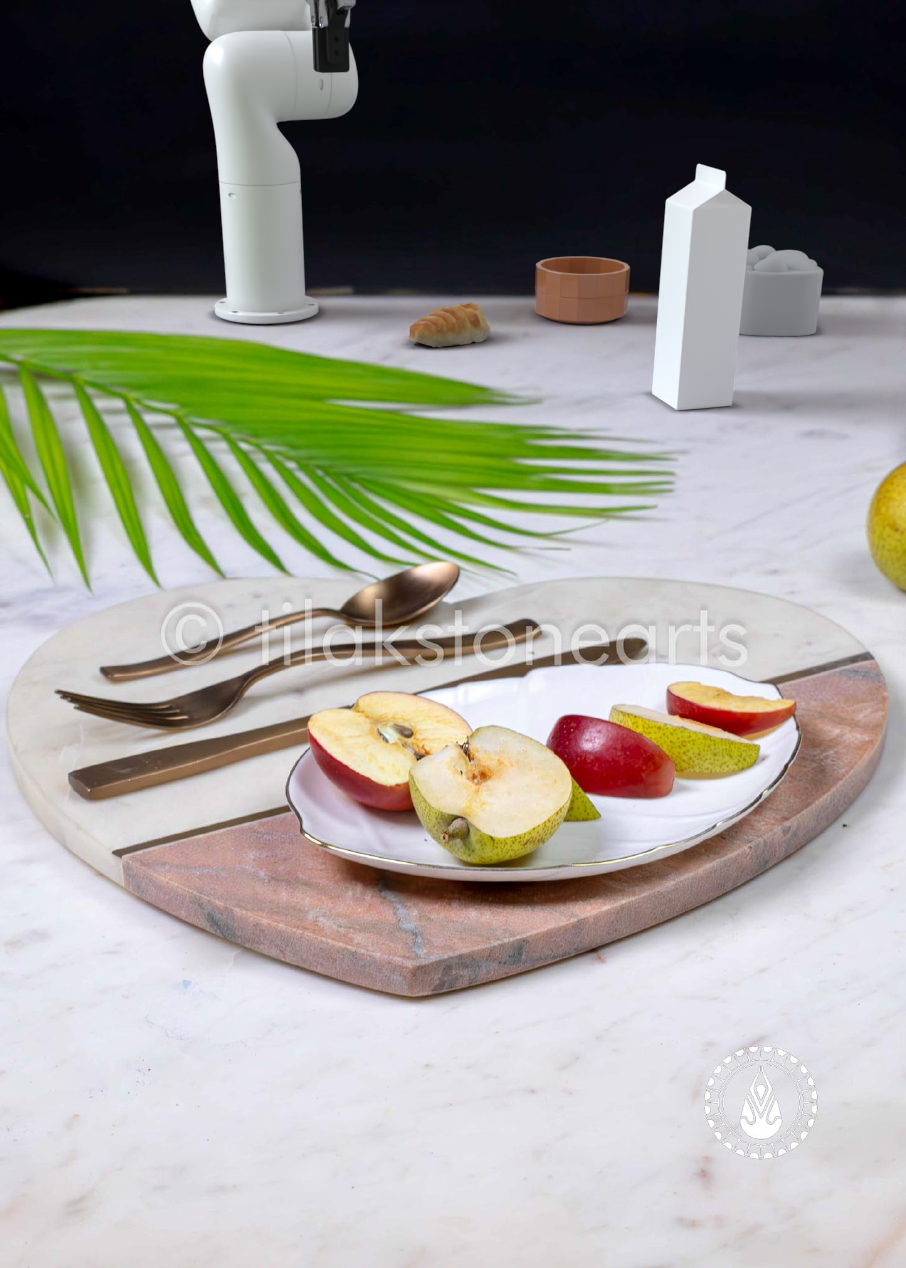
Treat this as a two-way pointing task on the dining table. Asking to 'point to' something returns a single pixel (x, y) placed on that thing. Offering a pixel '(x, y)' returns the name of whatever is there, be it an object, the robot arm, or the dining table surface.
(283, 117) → the robot arm
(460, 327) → the pastry
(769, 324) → the lumpy-topped squat cylinder
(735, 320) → the milk
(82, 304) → the dining table surface
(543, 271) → the bowl
